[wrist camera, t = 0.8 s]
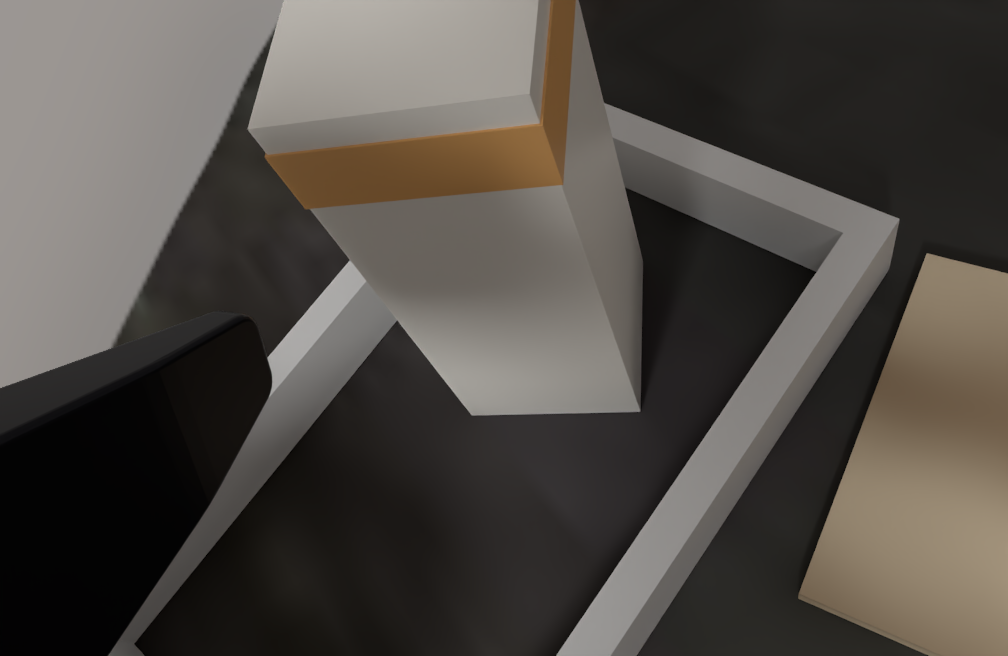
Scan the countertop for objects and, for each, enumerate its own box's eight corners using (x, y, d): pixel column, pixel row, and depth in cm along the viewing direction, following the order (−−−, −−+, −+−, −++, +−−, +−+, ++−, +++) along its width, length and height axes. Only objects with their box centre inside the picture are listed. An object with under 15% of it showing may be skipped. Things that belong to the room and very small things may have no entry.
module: (641, 413, 25) (532, 95, 14) (470, 417, 26) (244, 131, 15) (644, 259, 27) (552, -118, 16) (486, 270, 28) (301, -70, 17)
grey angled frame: (304, 1164, 19) (-288, 1612, 8) (8, 753, 25) (-542, 717, 15) (889, 269, 25) (970, -122, 14) (531, 118, 31) (406, -232, 20)
